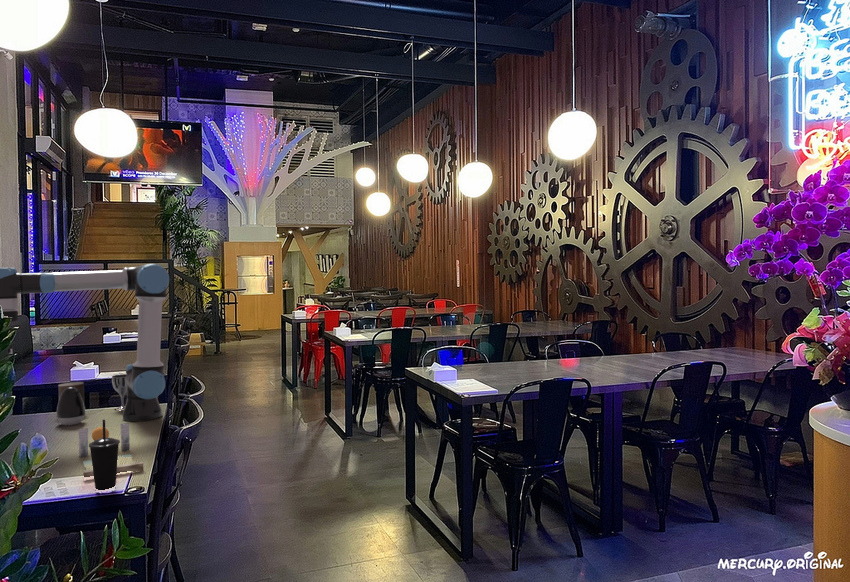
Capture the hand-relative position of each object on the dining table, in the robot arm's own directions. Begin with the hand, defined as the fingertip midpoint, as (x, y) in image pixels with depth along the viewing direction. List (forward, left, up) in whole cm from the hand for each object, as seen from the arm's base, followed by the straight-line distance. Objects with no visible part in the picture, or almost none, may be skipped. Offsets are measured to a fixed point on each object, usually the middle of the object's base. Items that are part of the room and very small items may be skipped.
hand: (7, 369), depth 223 cm
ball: (-28, +20, -24) cm, 42 cm away
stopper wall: (-28, +64, -27) cm, 74 cm away
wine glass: (-41, -38, -27) cm, 62 cm away
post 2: (-34, +36, -27) cm, 56 cm away
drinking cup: (-24, +78, -27) cm, 86 cm away
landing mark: (-28, +50, -27) cm, 63 cm away
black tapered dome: (-20, -18, -27) cm, 38 cm away
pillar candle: (-21, -36, -27) cm, 50 cm away
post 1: (-21, +36, -27) cm, 49 cm away
